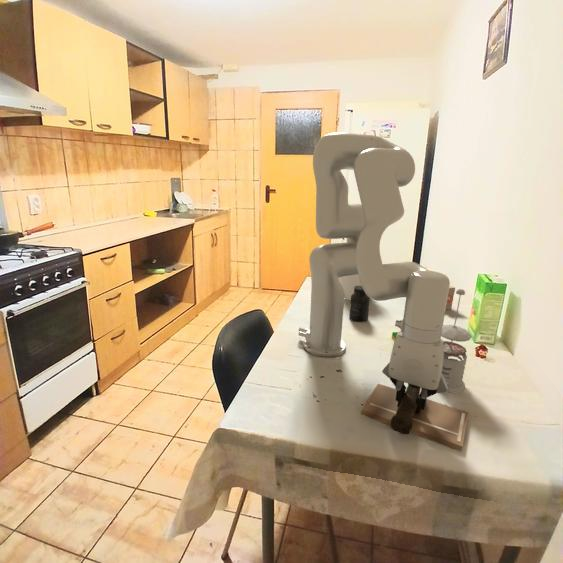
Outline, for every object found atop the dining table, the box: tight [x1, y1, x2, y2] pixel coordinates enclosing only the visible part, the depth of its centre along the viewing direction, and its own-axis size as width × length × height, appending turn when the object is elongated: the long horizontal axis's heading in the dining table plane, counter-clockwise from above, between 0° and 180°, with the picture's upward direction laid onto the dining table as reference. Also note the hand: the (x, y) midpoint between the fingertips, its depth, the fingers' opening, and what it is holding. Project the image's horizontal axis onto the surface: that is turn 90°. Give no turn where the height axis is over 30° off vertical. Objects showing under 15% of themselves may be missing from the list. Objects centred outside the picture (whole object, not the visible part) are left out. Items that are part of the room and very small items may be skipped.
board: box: [360, 383, 469, 452], centre depth 77 cm, size 20×12×1 cm, turn 58°
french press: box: [441, 288, 472, 394], centre depth 88 cm, size 10×12×25 cm
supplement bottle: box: [348, 286, 371, 323], centre depth 127 cm, size 7×7×12 cm
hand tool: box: [389, 383, 421, 435], centre depth 77 cm, size 19×4×5 cm, turn 148°
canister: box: [339, 274, 362, 301], centre depth 151 cm, size 14×14×20 cm
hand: (409, 406), depth 78 cm, fingers closed on hand tool, 3 cm apart
